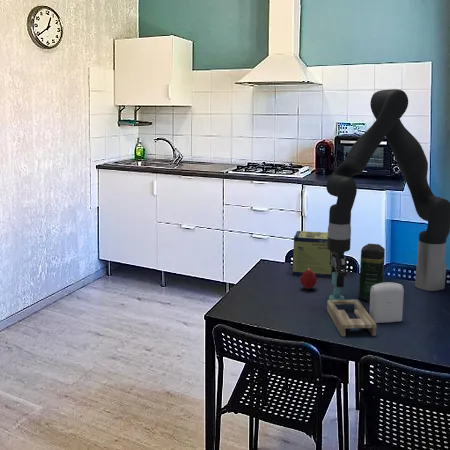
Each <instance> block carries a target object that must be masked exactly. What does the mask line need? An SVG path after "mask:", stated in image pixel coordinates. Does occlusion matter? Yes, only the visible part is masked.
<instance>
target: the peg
mask: <svg viewBox="0 0 450 450" xmlns="http://www.w3.org/2000/svg"><path fill="white" fill-rule="evenodd" d="M341 273H342V271H341ZM331 285H332V286H333V290H332V291H333V292H332V294H330V295H329V296H328V300H345V296H344V295H341V292H342V291H341V289H342V287H337V272H332V278H331Z"/></svg>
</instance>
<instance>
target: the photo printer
mask: <svg viewBox="0 0 450 450" xmlns="http://www.w3.org/2000/svg"><path fill="white" fill-rule="evenodd" d="M404 291H405V289H404V286H403V285H402V284H400V283H397V282H391V281H390V282H388V281H387V282H383V283H379V284H376V285H373V286H371V289H370V301H369V312H368V314H369V315H370V316H371V318H372V319H373V320H374V322H375V323H376V324H380V323H396V322H402V321H403V311H404V309H403V308H404V294H405V292H404Z"/></svg>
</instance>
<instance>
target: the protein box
mask: <svg viewBox="0 0 450 450" xmlns="http://www.w3.org/2000/svg"><path fill="white" fill-rule="evenodd" d="M327 239H328V231H327V232H323V231H322V232H321V231H307V230H298V231H296V232H295V235H294V237H293V251H292V252H293V253H292V254H293V257H292V258H293V259H292V260H293V261H292V275H293V276H300V277H301V275H302V274H303V273H304V272H305V271H307V269H308V268H310V270H311V271H312V272H313V273H314V274H315V275H316V278H329V279H332V278H331V269H332V268H331V265H330V250H328V249H327Z"/></svg>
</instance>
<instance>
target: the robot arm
mask: <svg viewBox="0 0 450 450" xmlns="http://www.w3.org/2000/svg"><path fill="white" fill-rule="evenodd" d="M369 104H370V109H371V112H372V115H373V117H374V118H375V120H374V122H373V123H372V125H371V126H370V127H369V128H368V129H367V130H366V131H365V132H364V133H363V134H362V135H361V136H360V137H358V139H357V140H356V141H355V142H354V143H353V145H352V147H351V148H350V150H349V152H348V153H347V155H346V157H345V159H344V160H343V161H342V163H340V164H339V165H338V166H337V167H336V168H335V170H334V171H333V172H332V173H331V174H330V175H329V177H328V179H327V182H326V185H325V187H326V188H325V189H326V191H327V193H328V194H329V195H330V196H333V197H335V198H336V197H337V198H336V203H334V204H332V205H330V207H329V212H328V213H329V214H328V215H329V216H328V226H327V227H328V228H327V232H328V239H327V249H328V250H330V265H331V268H332V269H331V278H330V279H332V272H337V287H341V288H344V285H345V284H344V283H345V282H344V281H345V277H347V273H348V272H347V271H348V270H347V269H348V267H347V266H348V258H346V256H345V253H347V252H349V251H350V250H351V241H352V239H351V237H352V226H351V225H352V224H351V221H352V210H353V207H354V204H355V201H356V196H357V193H358V192H357V191H358V187H357V183H356V181H355V180H354V178H353V177H354V176H356V175H361V174H362V173H363V172H364V171H365V168H366V167H367V165H368V164H369V162H370V160H371V159H372V157H373V155H374V153H375V152H376V150H377V149H378V148H379V146H380V145H381V143H382V142H383V140H384V139H385V138H386V140H387V143H388V145H389V147H390V148H391V151H392V153H393V156H394V158H395V161H396V163H397V165H398V168H399V170H400V172H401V173H402V176H403V178H404V182H405V183H406V186H407V187H408V190H409V192H410V196H411V199H412V202H413V205H414V209H415V212H416V214H417V216H418V217H419V218H420V219H422V220H423V221H426V222H427V227H426V230H422V231H420V232H419V234H418V242H417V243H418V246H417V255H416V256H417V257H416V270H415V282H414V283H415V284H414V286H415V288H417V289H420V290H423V291H427V292H429V291H430V292H435V291H441V290H445V286H446V275H447V274H446V273H447V263H446V262H445V260H446V259H445V258H446V256H445V255H446V248H447V247H446V246H447V239H448V237H449V235H450V201H449V200H448V199H446V198H444V197H440V196H436V195H435V194H434V193H433V191H432V189H431V188H430V184H429V182H428V172H429V171H428V170H429V162H428V159H427V156H426V154H425V151H424V149H423V147H422V145H421V143H420V142H419V141H418V139H417V138H416V137H415V136H414V135H413V134H412V133H411V132H410V131H409V130H408V129H407V128H406V126H405V125H404V124H403V123H402V120H401V118H402V117H403V116H404V114H405V113H406V111H407V109H408V107H409V97H408V95H407V93H406V91H404V90H402V89H397V88H393V89H392V88H391V89H381V90H378V91H375V92H374V93H373V94H372V95H371V98H370V103H369ZM341 272H342V273H341Z"/></svg>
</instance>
